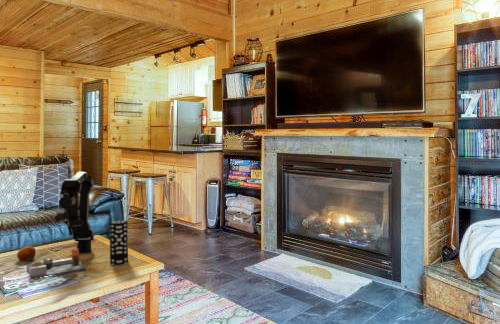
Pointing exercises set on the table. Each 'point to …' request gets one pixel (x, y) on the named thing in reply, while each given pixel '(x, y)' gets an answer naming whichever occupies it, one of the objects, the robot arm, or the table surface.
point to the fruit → (26, 253)
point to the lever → (75, 258)
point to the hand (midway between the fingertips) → (72, 237)
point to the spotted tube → (118, 242)
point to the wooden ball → (37, 264)
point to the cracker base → (55, 269)
